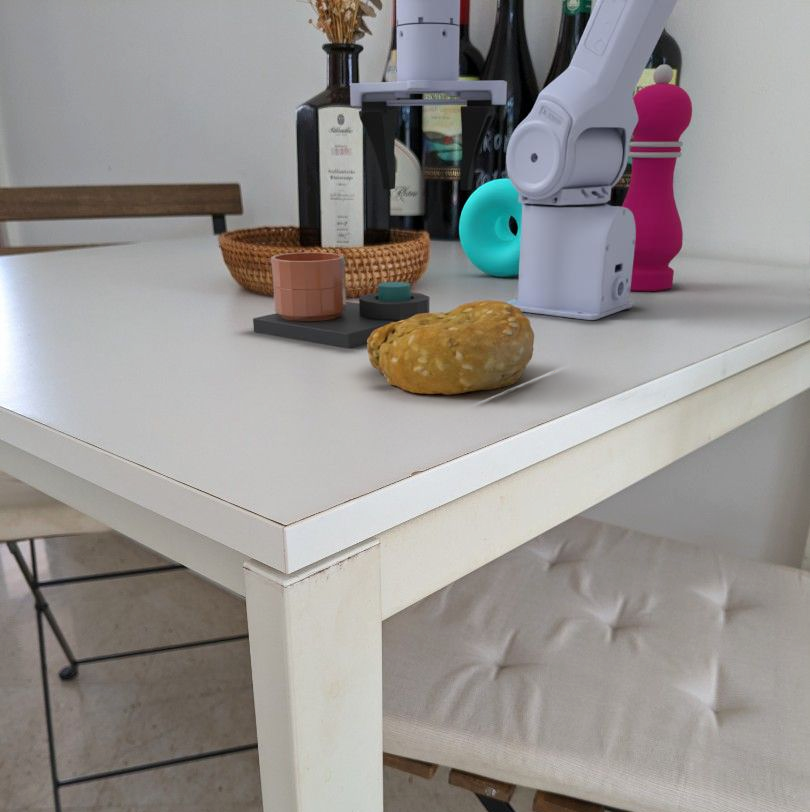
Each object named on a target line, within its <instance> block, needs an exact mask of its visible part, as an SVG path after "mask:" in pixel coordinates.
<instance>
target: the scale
mask: <svg viewBox="0 0 810 812" xmlns="http://www.w3.org/2000/svg"><path fill="white" fill-rule="evenodd" d="M422 313H430V296H429V295H427V294H423V293H421V292H420V293H419V292H414V291H413V292H412V291H411V299H410V300H403V301H384V300H378V292H372V293H367V294H363V295H361V296H360V297H359V298H358V302H353V301H346V310H345V311H344V312H342V313H341V316H339V317H337V318H334V319H330V320H323V321H292V320H286V319H283V318H281V317H280V314H277V313H276V312H275V313H271V314H266V315H262V316H258V317H253V318H252V325H253V333H255V334H262V335H267V336H274V337H278V338H279V337H280V338H285V339H289V340H290V339H291V340H296V341H301V342H307V343H313V344H318V345H325V346H330V347H336V348H340V349H341V348H343V349H346V350H347V349H348V350H350V349H353V348H357V347H361V346H364V345H367V344H368V343H367V339H368V338H369V337H370V335H371V333H372V332H373V331H374V330H376V329H378V328H380V327H383V326H385V325H388V324H390V323H391V322H398V321H401V320H406V319H408V318H410V317H412V316H414V315H416V314H422Z"/></svg>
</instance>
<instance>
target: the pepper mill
mask: <svg viewBox="0 0 810 812" xmlns="http://www.w3.org/2000/svg"><path fill="white" fill-rule="evenodd" d="M652 77H653V78H652V79H653V81H654V83H653V84H650V85H647V86H645V87H643V88H641V89H639V90H638V91H636V93H635V94H634V95H633V101H634V104H635V107H636V111H637V114H638V123H637V125H636V127H635V129H634V131H633V133H632V135H631V136H632V138H633V141H630V143H629V152H628V158H631V175H630V181H629V187H628V189H627V192H626V195H625V198H624V200H623V203H622V205H621V207H625V208H628V209H629V210H630V211H631V212H632V213H633V216H634V220H635V227H636V239H635V249H634V259H633V268H632V278H631V288H630V291H631V292H632V291H633V292H660V291H666V290H667V291H668V290H670V289H671V288H672V287H673V283H674V282H673V281H674V274H675V270H674V269H673V268H672V267H671V266H670V264H671V262H672V261H673V260H674V259H675V258H676V257H677V255H679V253H680V252H681V250H682V248H683V240H684V239H683V236H684V231H683V225H682V224H683V223H682V221H681V218H680V217H681V216H680V214H679V210H678V206H677V203H676V200H675V199H676V198H675V192H674V178H675V177H674V175H675V169H676V164H677V159H678V158H681V157H682V154H683V153H682V152H681V151H682V148H681V147H683V145H684V143H683V141H682V140H681V141H679V140H680V139H681V136H682V135H683V133H684V132H685V131H686V130H687V129H688V127H689V126H690V123H691V121H692V116H693V105H692V100H691V96H690V95H689V93H688V92H687V91H686V90H685V89H683V87H680V86H678V85H676V84H673V83H671V81H672V79H673V77H674V70H673V67H671V66H670V65H669V64H660V65H658V66H657V67H656V68H655V70H654V72H653V75H652Z"/></svg>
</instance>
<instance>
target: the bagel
mask: <svg viewBox="0 0 810 812" xmlns="http://www.w3.org/2000/svg"><path fill="white" fill-rule="evenodd" d="M367 343H368V344H366V348H367V354H368V359H369V363H370V364H371V366H372V367H373V368H375V369H376V370H378V371H379V372H380V373H381V374H383V376H384V378H385V379H387V380H386V382H387V383H388V385H389V384H390V385H392V386H394V387H398V388H400V389H402V390H403V391H406V392H410V393H413V394H420V395H422V394H424V395H425V394H426V395H434V394H435V395H436V394H437V395H438V394H442V395H446V396H450V395H458V394H464V393H468V392H476V391H488V390H495V389H497V390H498V389H500V388H504V387H508V386H512V385H513V384H515V383H517V382H518V381H519V380H520V378H521V376H523V374H524V372H525V371H526V367H527V365H528V364H529V363H530V362H531V360H532V358H533V356H534V343H535V333H534V330H533V328H532V327H531V320H530V319H529V318H528V317H526V316H525V315H524V314H523V312H522V311H521V309H519V308H518V307H515V306H513V305H510V304H508V303H506V301H500V300H491V299H488V300H480V301H473V302H467V303H464V304H463V303H462V304H461V305H458V307H456V308H454V309H452V310H451V311H447V312H429V313H422V314H416V315H414V316H412V317H410V318H408V319H406V320H401V321H398V322H391V323H390V324H388V325H385V326H383V327H380V328H378V329H376V330H374V331H373V332H372V333H371V335H370V337H369V338H368V339H367Z"/></svg>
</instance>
